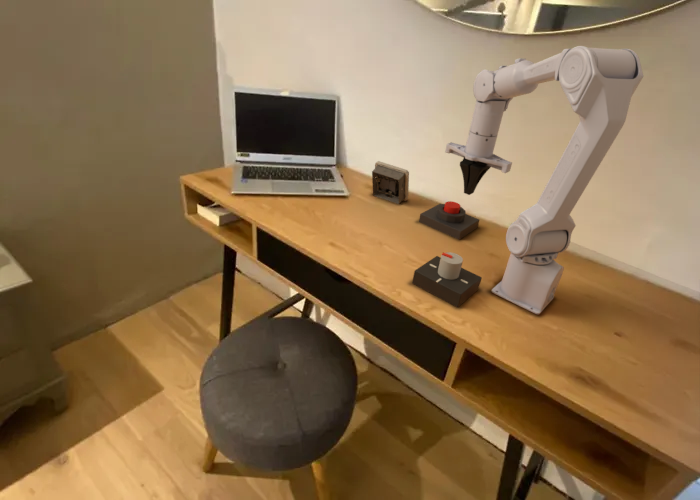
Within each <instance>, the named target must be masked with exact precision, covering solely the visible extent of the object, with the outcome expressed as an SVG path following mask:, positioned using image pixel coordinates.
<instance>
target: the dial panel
mask: <svg viewBox="0 0 700 500" xmlns="http://www.w3.org/2000/svg"><path fill="white" fill-rule="evenodd" d="M440 259H441V256H439V255H436V256H434V257H433V258H431V259H430V260H428V261H427V262H425V263H424V264H422V265H421V266H419V267H418V268H416V269H414V272H413V275H412V276H413V277H412V282H411V284H412V285H414V286H416V287H418V288H420V289H422V290H423V291H426V292H427V293H429V294H431V295H433V296H435V297H437V298H439V299H441V300H443V301H444V302H446V303H448V304H449V305H452V306H454V307H456V308H459V307H461V305H463V303H465V302H466V301H467V300H468V299H470V297H472V296H473V295H474V294H475V293H477V292H478V291H479V288H480V286H481V282H482V276H480V275H478V274H476V273H474V272H472V271H469V270H467V269H466V268H464V267H461V270H460V274H459V277H458V278H457V279H454V280H449V279H445V278H443V277H441V276H440V275H439V274H438V268H439V264H440Z"/></svg>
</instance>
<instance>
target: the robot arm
mask: <svg viewBox="0 0 700 500" xmlns="http://www.w3.org/2000/svg"><path fill="white" fill-rule="evenodd" d="M643 78H644V73H643V69H642V64H641V60H640V56H639V55H638V53H637V52H636V51H634V50H633V49H630V48H620V49H619V48H602V47H587V46H585V45H577V46H574V47H572V48H564V49H563V50H562V51H561V52H559V53H557V54H554V55H552V56H550V57H547V58H545V59H542V60H540V61H538V62H533V61H532V60H529V59H527V58H523V57H521V58H520V57H519V58H516V59H514V63H512V64H510V65H503V64H502V65H500V66H499V67H498V69H496V70H489V69H486V68H485V69H481V71H480V72H478V73H477V75H476V76H475V78H474V81H473V87H472V88H473V89H472V91H473V97H474V99H475V100H476V101H475V103H474V108H473V112H472V116H471V117H472V118H471V121H470V126H469V130H468V135H467V139H466V144H460V143H456V142H452V141H451V142H448V143H446V146H445V151H444V153H445V154H446V153H447V154H452V155H455V156H458V157H461V158H463V159H462V160H461V161H459V167H460V170H461V173H462V179H463V194H465V195H467V196H470V195H472V194H474V193H475V190H476V188H477V187H478V185H479V183H480V181H481V180H482V178H483V177H484V176H485V175H486V173H487V172H488V171H489V170H490V169H491V168H493V169H496V170H498V171H500V172H501V173H504V174H508V173H509V172H510V171H511V168H512V165H513V162H512V161H509V160H507V159H505V158H503V157H501V156H499V155H497V154H495V153H494V150H495V147H496V144H497V143H496V142H497V138H498V135H499V131H500V128H501V123H502V120H503V117H504V112H506V111H507V110H508V107H509V105H510V102H511V101H512V100H513V99H514V98H516V97H521V96H524V95H528V94H531V93H533V92H534V91H535V90H536V89H537V88H538V86H539V85H540V84H544V83H547V82H553V81H556V82H559V84H560V87H561V89H562V91H563V93H564V95H565V97H566V99H567V101H568V103H569V105H570V107H571V108H572V111H573V112H574V113H575V114H576V115H578V117H579V123H578V125H577V126H576V128H575V130H574V132H573V133H572V135H571V137H570V139H569V142H568V144H567V146H566V147H565V149H564V151H563V153H562V155H561V157H560V159H559V160H558V162H557V164H556V166H555V168H554V170H553V172H552V174H551V175H550V178H549V179H548V181H547V183H546V185H545V187H544V189H543V190H542V192H541V194H540V196H539V198H538V200H537V202H536V203H535V204H533V205H532V206H530V207H528V208H527V209H525V210H523V211H522V212H520V213H519V215H518V217H517V218H516V220H514V221H513V222H512V223H510V224H509V226H508V228H507V231H506V233H505V244H506V246H507V249H508V251H509V252H510V254H509V257H508V260H507V263H506V267H505V270H504V274H503V277H502V279H501V281H500V282H498V283H497V284H496V285H495V286H494V287H492V288H491V290H490V292H491V293H492V294H494V295H496V296H498V297H499V298H502V299H503V300H506V301H508V302H510V303H512V304H514V305H517V306H519V307H521V308H523V309H524V310H526V311H529V312H531V313H533V314H535V315H540V314H541V313H542V312H543V311H544V309H545V308H547V307H548V305H549V304H550V303H551V302H552V301H553V300H554V298H555V294H556V291H557V289H558V287H559V283H560V281H561V279H562V276H563V274H564V270H565V268H564V266H563V265H561V264H560V263H558V261H556V259H557V258H558V255H559V254H560V253H564V252H565V251H566V250H567V249H568V248H569V246H570V243H571V239H572V234H573V231H574V229H575V228H576V226H577V225H576V223H575V221H574V219H573V217H572V216H571V213H572V211H573V210H574V208H575V207H576V205H577V203H578V201H579V200H580V198H581V196H582V195H583V193H584V191H585V190H586V189H587V187H588V185H589V183H590V182H591V180H592V178H593V177H594V175H595V173H596V171H597V170H598V168H599V167H600V165H601V163H602V162H603V160H604V158H605V156H607V153H608V152H609V150H610V149H611V148H612V145H613V143H614V142H615V140H616V138H617V137H618V135H619V133H620V132H621V130H622V128H623V127H624V125H625V123H626V120H627V116H628V112H629V108H630V104H631V99H632V97H633V95H634V94H635V92H636V90H637V89H638V87H639V85H640V83H641V81H642V80H643Z"/></svg>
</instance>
